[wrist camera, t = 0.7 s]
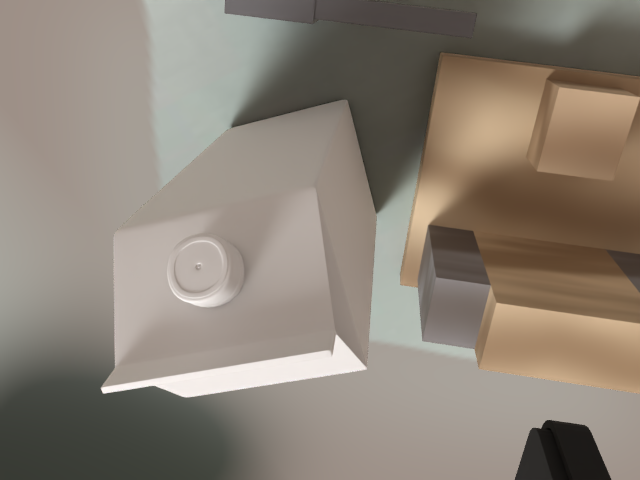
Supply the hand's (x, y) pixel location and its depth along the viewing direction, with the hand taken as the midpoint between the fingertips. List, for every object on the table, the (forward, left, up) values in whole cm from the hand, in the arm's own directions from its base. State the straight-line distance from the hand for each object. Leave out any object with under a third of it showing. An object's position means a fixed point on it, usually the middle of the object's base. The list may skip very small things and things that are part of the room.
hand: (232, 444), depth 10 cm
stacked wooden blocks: (+3, +11, -25) cm, 28 cm away
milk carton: (+4, -2, -25) cm, 26 cm away
